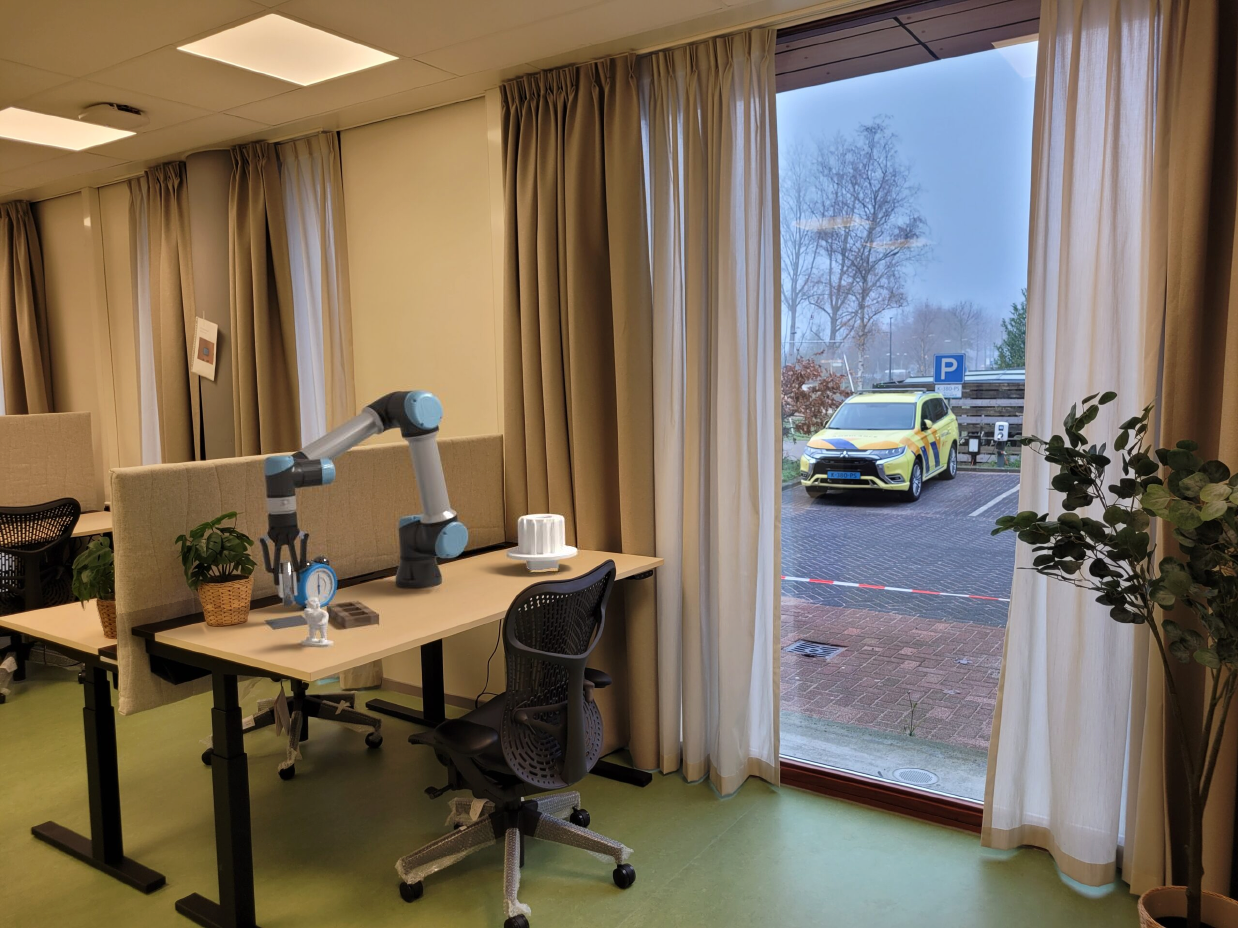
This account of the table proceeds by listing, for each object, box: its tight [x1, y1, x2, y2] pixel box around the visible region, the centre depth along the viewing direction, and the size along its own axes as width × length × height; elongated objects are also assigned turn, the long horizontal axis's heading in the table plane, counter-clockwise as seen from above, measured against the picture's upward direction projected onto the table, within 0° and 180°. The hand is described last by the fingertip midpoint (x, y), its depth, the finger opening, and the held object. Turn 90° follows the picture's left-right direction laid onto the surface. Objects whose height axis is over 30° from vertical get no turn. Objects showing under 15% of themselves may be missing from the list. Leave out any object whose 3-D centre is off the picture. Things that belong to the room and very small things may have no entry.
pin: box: [279, 560, 295, 607], centre depth 251 cm, size 3×3×12 cm
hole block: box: [325, 600, 380, 630], centre depth 254 cm, size 20×9×3 cm, turn 32°
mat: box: [264, 614, 309, 631], centre depth 252 cm, size 12×10×1 cm
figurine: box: [300, 597, 334, 648], centre depth 230 cm, size 9×7×12 cm
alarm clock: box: [294, 555, 338, 608], centre depth 270 cm, size 13×6×15 cm, turn 150°
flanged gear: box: [505, 513, 578, 571], centre depth 320 cm, size 25×25×19 cm
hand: (288, 595), depth 252 cm, fingers closed on pin, 3 cm apart
